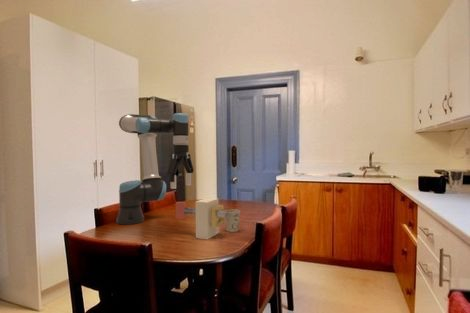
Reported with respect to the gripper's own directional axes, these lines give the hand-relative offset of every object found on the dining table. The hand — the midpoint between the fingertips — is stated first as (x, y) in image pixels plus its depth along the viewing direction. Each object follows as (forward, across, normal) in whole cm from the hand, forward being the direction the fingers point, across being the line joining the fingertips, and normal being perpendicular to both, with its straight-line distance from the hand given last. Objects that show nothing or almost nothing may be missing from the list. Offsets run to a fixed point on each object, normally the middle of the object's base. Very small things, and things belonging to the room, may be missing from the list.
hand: (181, 187), depth 147 cm
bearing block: (+23, 0, -15) cm, 27 cm away
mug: (+23, +13, -21) cm, 34 cm away
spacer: (+17, 0, -20) cm, 27 cm away
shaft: (+16, 0, -11) cm, 19 cm away
